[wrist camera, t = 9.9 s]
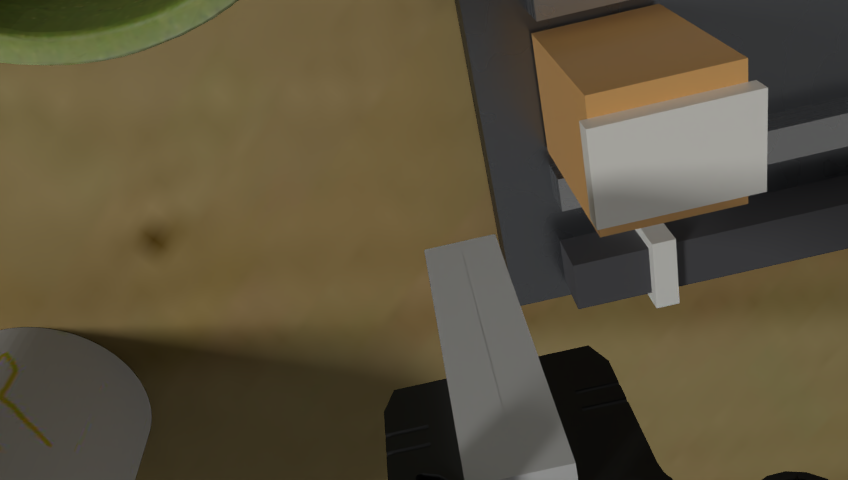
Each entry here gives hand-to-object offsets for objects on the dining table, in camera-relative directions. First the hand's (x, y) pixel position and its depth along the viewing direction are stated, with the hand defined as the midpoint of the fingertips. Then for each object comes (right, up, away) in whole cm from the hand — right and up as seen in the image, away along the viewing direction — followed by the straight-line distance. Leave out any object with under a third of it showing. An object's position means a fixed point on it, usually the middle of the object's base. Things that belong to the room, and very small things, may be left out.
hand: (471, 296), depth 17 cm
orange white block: (+5, +6, +8) cm, 11 cm away
